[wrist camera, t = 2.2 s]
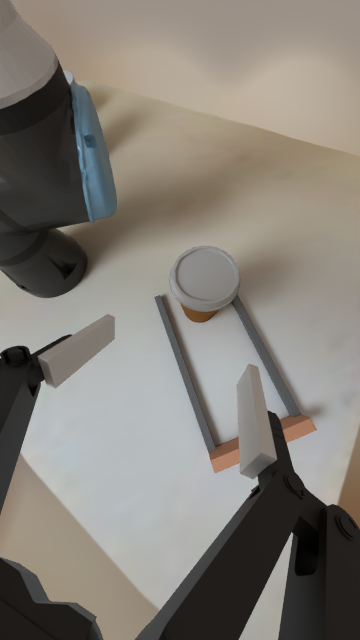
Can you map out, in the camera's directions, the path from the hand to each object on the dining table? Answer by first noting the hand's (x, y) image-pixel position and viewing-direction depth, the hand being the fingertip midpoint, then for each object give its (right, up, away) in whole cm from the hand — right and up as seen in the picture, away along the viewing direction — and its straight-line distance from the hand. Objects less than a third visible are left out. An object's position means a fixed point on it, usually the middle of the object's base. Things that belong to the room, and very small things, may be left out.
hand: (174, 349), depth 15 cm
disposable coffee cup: (+4, +5, +17) cm, 18 cm away
